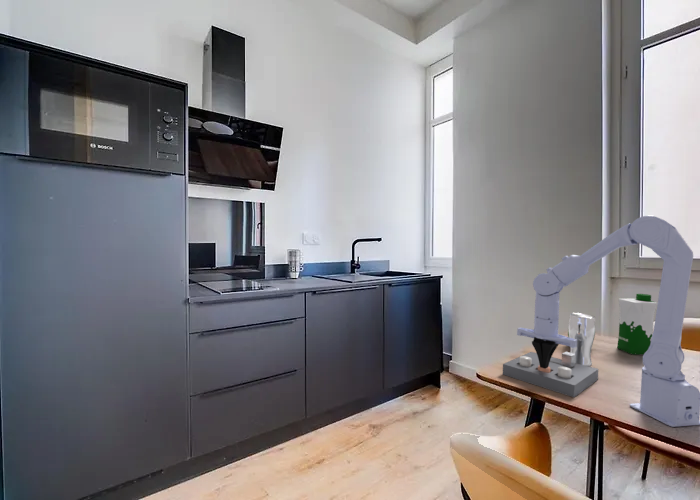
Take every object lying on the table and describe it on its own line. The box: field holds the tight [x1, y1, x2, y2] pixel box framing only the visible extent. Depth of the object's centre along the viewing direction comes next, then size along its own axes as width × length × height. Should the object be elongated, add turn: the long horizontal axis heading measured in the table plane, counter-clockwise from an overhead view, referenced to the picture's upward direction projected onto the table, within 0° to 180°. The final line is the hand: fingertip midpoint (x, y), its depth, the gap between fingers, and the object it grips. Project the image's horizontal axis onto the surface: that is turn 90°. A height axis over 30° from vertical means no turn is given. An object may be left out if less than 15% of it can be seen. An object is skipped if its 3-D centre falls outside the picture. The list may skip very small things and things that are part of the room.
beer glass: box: [568, 312, 596, 367], centre depth 112 cm, size 7×7×15 cm
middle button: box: [538, 365, 551, 373], centre depth 97 cm, size 3×3×3 cm
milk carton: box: [616, 293, 658, 356], centre depth 124 cm, size 9×9×20 cm
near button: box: [558, 366, 571, 379], centre depth 93 cm, size 3×3×3 cm
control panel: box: [502, 351, 599, 398], centre depth 100 cm, size 18×18×3 cm
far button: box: [519, 355, 532, 367], centre depth 101 cm, size 3×3×3 cm
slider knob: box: [561, 351, 575, 367], centre depth 100 cm, size 2×3×3 cm
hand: (544, 367), depth 97 cm, fingers closed, pressing on middle button
